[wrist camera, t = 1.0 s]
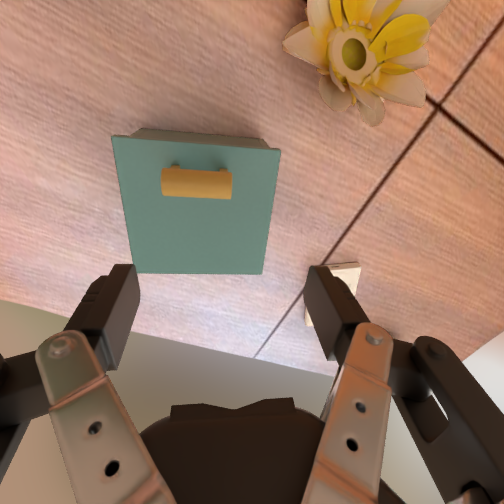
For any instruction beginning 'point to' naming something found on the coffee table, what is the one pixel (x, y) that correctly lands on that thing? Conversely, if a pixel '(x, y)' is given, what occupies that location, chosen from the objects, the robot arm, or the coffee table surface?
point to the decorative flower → (366, 51)
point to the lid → (196, 204)
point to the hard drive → (345, 273)
